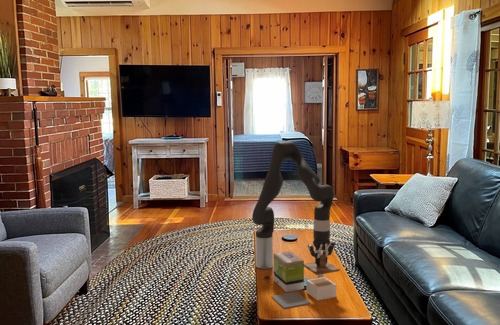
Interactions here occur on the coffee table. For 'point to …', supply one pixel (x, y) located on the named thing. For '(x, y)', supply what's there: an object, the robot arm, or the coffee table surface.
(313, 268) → the lid
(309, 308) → the coffee table surface
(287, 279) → the tea box
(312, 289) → the white square box
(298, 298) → the mat
